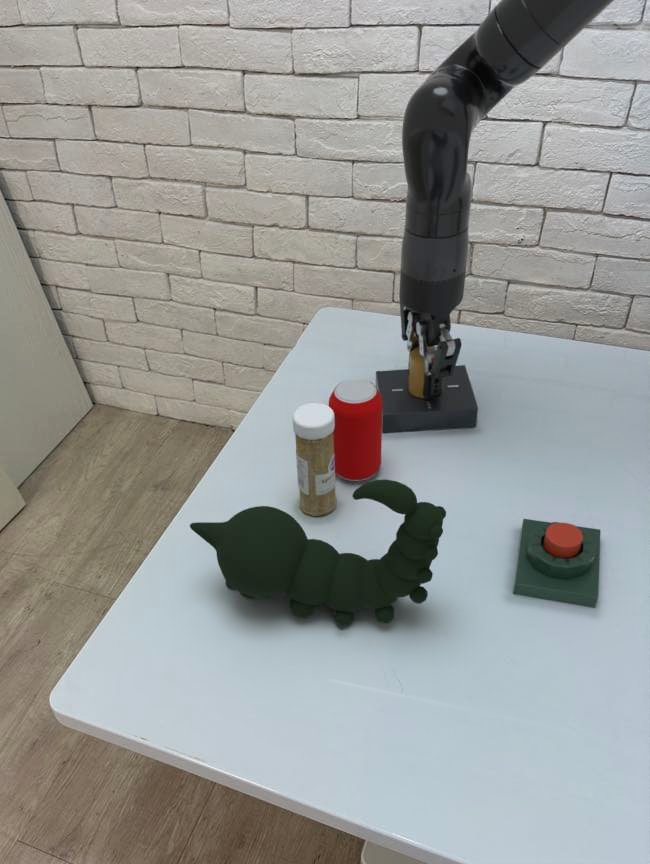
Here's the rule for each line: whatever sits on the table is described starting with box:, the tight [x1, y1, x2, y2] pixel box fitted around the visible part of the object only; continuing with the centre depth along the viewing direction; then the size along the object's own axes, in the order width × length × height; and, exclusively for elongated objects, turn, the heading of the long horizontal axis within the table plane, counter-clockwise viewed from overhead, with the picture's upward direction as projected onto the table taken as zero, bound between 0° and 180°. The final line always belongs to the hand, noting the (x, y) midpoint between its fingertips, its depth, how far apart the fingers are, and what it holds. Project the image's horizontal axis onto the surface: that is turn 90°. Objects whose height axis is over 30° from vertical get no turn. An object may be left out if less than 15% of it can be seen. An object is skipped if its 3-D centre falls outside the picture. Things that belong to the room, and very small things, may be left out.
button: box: [543, 522, 583, 558], centre depth 83 cm, size 4×4×2 cm
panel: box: [375, 364, 479, 434], centre depth 107 cm, size 12×10×3 cm
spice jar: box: [292, 402, 337, 517], centre depth 92 cm, size 5×5×14 cm
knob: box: [408, 345, 443, 398], centre depth 104 cm, size 4×4×6 cm
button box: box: [512, 518, 601, 608], centre depth 84 cm, size 10×8×4 cm
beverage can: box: [328, 378, 383, 482], centre depth 96 cm, size 6×6×12 cm
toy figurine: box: [189, 479, 447, 628], centre depth 80 cm, size 9×19×25 cm
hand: (424, 385), depth 105 cm, fingers closed on knob, 4 cm apart
